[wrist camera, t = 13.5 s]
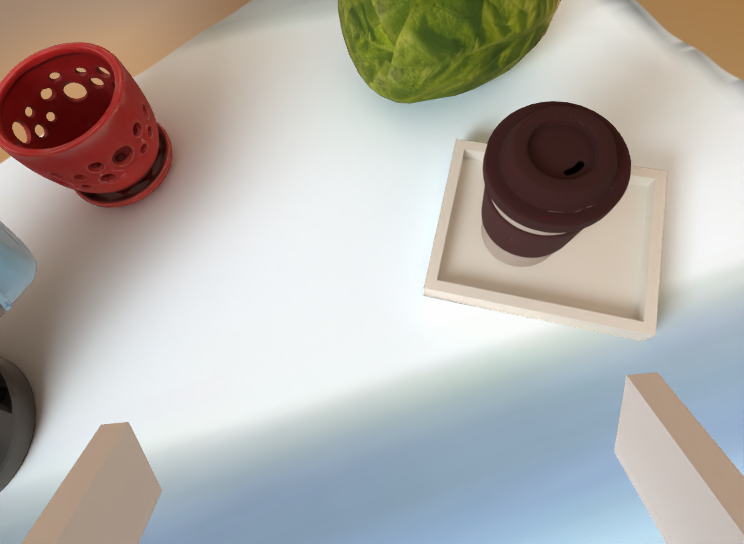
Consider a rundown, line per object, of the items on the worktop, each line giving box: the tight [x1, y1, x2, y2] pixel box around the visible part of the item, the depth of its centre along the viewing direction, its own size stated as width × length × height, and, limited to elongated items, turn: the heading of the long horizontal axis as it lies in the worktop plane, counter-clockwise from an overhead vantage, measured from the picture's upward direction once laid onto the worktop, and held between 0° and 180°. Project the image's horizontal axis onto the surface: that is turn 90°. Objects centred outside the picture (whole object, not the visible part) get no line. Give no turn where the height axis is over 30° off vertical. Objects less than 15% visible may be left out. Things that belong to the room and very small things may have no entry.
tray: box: [424, 139, 667, 341], centre depth 45 cm, size 20×16×3 cm
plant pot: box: [0, 42, 172, 207], centre depth 48 cm, size 13×13×12 cm
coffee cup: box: [481, 101, 631, 267], centre depth 39 cm, size 10×10×15 cm
